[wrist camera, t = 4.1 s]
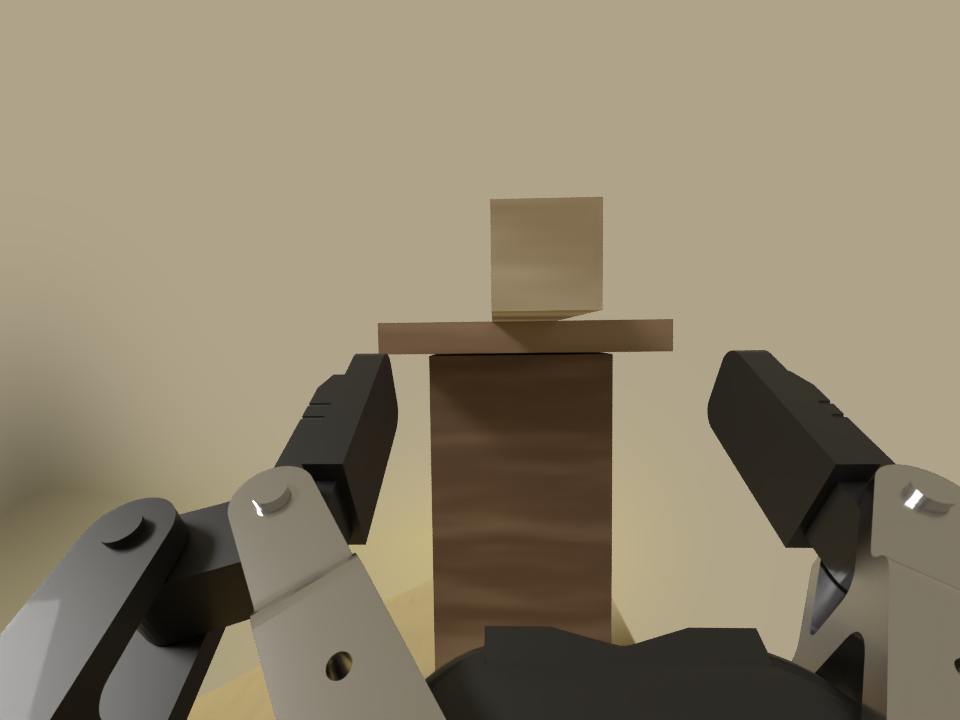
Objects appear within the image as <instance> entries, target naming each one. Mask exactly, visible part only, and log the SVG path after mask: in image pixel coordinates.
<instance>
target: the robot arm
mask: <svg viewBox="0 0 960 720" xmlns="http://www.w3.org/2000/svg"><path fill="white" fill-rule="evenodd" d="M309 404H310V406H308V407H307V409H306V411H305V412H304V414H303V416H302V417H303V418H302V419H301V420H300V421H299V423H298V425H297V427H296V429H295V430H294V432H293V434H292V436H291V438H290V439H289V442H288V443H287V445H286V447H285V449H284V450H283V452H282V454H281V456H280V458H279V460H278V461H277V463H276V465H275V467H274V468H272V469H269V470H266V471H263V472H261V473H259V474H257V475H255V476H254V477H252V478H250V479H249V480H248V481H246V482H245V483H244V484H243V485H242V486H241V487H240V488H239V489H238V490H237V491H236V492H235V494H234V495H233V497H232V499H231V500H230V501H229V502H226V503H223V504H219V505H215V506H212V507H207V508H203V509H200V510H195V511H192V512H188V513H184V514H180V515H179V514H178V512H177V511H176V509H175V507H174V506H173V505H172V503H170V502H169V501H167V500H165V499H162V498H144V499H139V500H135V501H132V502H129V503H126V504H124V505H122V506H120V507H118V508H116V509H114V510H112V511H110V512H109V513H107V514H105V515H104V516H102V517H101V518H100V519H98V520H97V521H96V522H94V523H93V524H92V525H91V526H90V527H89V528H88V529H87V530H86V531H85V532H84V533H83V534H82V535H81V537H80V538H79V539H78V540H77V541H76V543H75V544H74V545H73V546H72V548H71V549H70V550H69V551H68V552H67V554H66V555H65V556H64V557H63V559H62V560H61V561H60V562H59V563H58V565H57V566H56V567H55V568H54V569H53V571H52V572H51V573H50V574H49V576H48V577H47V578H46V579H45V581H44V582H43V583H42V584H41V585H40V587H39V588H38V589H37V590H36V591H35V593H34V594H33V595H32V596H31V598H30V599H29V600H28V601H27V602H26V604H25V605H24V606H23V607H22V609H21V610H20V611H19V612H18V614H17V615H16V616H15V617H14V618H13V620H12V621H11V622H10V623H9V625H8V626H7V627H6V628H5V629H4V631H3V632H2V633H1V634H0V720H187V718H188V715H189V713H190V711H191V708H192V706H193V703H194V701H195V699H196V696H197V694H198V692H199V689H200V687H201V684H202V682H203V679H204V677H205V675H206V673H207V670H208V668H209V665H210V663H211V660H212V658H213V656H214V654H215V651H216V649H217V646H218V644H219V642H220V639H221V637H222V635H223V632H224V630H225V627H226V626H229V625H232V624H235V623H239V622H242V621H245V620H248V619H250V621H251V627H252V632H253V635H254V640H255V643H256V647H257V651H258V654H259V658H260V662H261V666H262V669H263V673H264V677H265V681H266V684H267V688H268V692H269V696H270V699H271V703H272V707H273V711H274V714H275V718H276V720H960V487H959V486H958V485H956V484H954V483H953V482H951V481H949V480H947V479H946V478H944V477H941V476H939V475H937V474H935V473H932V472H929V471H927V470H923V469H920V468H917V467H913V466H908V465H897V464H895V463H894V462H893V461H892V460H891V459H890V458H889V457H888V456H886V454H885V453H884V452H883V451H882V450H881V449H880V448H879V447H877V446H876V445H875V444H874V443H873V442H872V441H871V440H870V439H869V438H868V437H867V436H866V435H865V434H864V433H863V432H862V431H861V430H860V429H859V428H858V427H857V426H856V425H855V424H854V423H853V422H852V421H851V420H850V419H849V418H847V417H844V416H843V413H842V412H841V411H840V410H839V409H838V408H837V407H836V406H835V405H834V404H830V400H829V399H828V398H827V397H826V396H825V395H824V394H823V393H822V392H821V391H820V390H819V389H817V388H816V387H815V386H814V385H813V384H811V383H810V382H808V381H806V380H804V379H803V378H801V377H799V376H798V375H795V374H794V373H792V372H791V371H788V370H786V368H785V367H784V366H783V365H782V364H781V363H780V362H779V361H777V359H776V358H775V357H773V355H772V354H771V353H769V352H768V351H765V350H749V351H748V350H746V351H729V352H728V353H727V354H726V355H725V356H724V358H723V361H722V364H721V367H720V370H719V373H718V375H717V378H716V382H715V384H714V387H713V390H712V393H711V396H710V399H709V402H708V420H709V423H710V426H711V428H712V430H713V431H714V433H715V435H716V436H717V438H718V439H719V441H720V443H721V444H722V446H723V448H724V449H725V451H726V452H727V454H728V456H729V457H730V459H731V460H732V462H733V464H734V465H735V467H736V468H737V470H738V472H739V473H740V475H741V477H742V478H743V480H744V481H745V483H746V485H747V486H748V488H749V489H750V491H751V493H752V494H753V496H754V497H755V499H756V501H757V502H758V504H759V506H760V507H761V509H762V510H763V512H764V514H765V515H766V517H767V518H768V520H769V522H770V523H771V525H772V526H773V528H774V530H775V531H776V533H777V534H778V536H779V538H780V539H781V541H782V543H783V544H784V546H785V547H786V548H813V549H814V550H815V551H816V553H817V554H818V557H817V559H816V560H815V562H814V563H813V565H812V568H811V574H810V580H809V586H808V592H807V597H806V603H805V609H804V615H803V621H802V627H801V633H800V639H799V643H798V647H797V650H796V653H795V655H794V658H793V660H792V662H791V661H789V660H786V659H784V658H781V657H779V656H776V655H773V654H770V653H767V650H766V648H765V646H764V644H763V642H762V640H761V638H760V636H759V633H758V631H757V630H756V628H686V629H683V630H679V631H676V632H673V633H670V634H666V635H663V636H660V637H657V638H653V639H650V640H646V641H643V642H640V643H636V644H633V645H629V646H618V645H614V644H610V643H607V642H603V641H600V640H596V639H593V638H589V637H585V636H582V635H578V634H575V633H571V632H568V631H564V630H561V629H557V628H554V627H549V626H485V639H484V646H482V647H479V648H476V649H472V650H470V651H468V652H465V653H463V654H461V655H459V656H457V657H455V658H453V659H452V660H450V661H448V662H447V663H445V664H444V665H442V666H441V667H439V668H438V669H437V670H436V671H435V672H433V673H432V674H431V675H430V676H429V677H427V678H426V679H424V677H423V675H422V674H421V672H420V670H419V668H418V666H417V664H416V662H415V660H414V659H413V657H412V655H411V653H410V651H409V649H408V647H407V646H406V644H405V642H404V640H403V638H402V636H401V634H400V632H399V631H398V629H397V627H396V625H395V623H394V621H393V619H392V618H391V616H390V614H389V612H388V610H387V608H386V606H385V604H384V603H383V601H382V599H381V597H380V595H379V593H378V591H377V590H376V588H375V586H374V584H373V582H372V580H371V578H370V576H369V575H368V573H367V571H366V569H365V567H364V565H363V564H362V562H361V560H360V559H359V557H358V556H357V554H356V553H354V554H352V552H351V550H350V549H349V547H348V545H349V544H350V545H352V544H353V545H354V544H357V545H361V544H362V545H363V544H364V545H365V544H366V541H367V537H368V534H369V530H370V526H371V523H372V519H373V515H374V511H375V508H376V504H377V500H378V496H379V492H380V489H381V485H382V481H383V477H384V474H385V470H386V466H387V462H388V459H389V455H390V451H391V447H392V444H393V440H394V436H395V432H396V428H397V422H398V406H397V399H396V393H395V387H394V382H393V375H392V369H391V363H390V359H389V356H388V354H356V355H354V357H353V359H352V361H351V363H350V366H349V367H348V369H347V371H346V373H345V375H333V376H331V377H330V378H329V379H328V380H327V381H326V382H324V383H323V384H322V385H321V386H320V387H318V389H317V390H316V392H315V394H314V396H313V398H312V400H311V401H310V403H309Z"/></svg>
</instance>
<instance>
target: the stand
mask: <svg viewBox="0 0 960 720" xmlns="http://www.w3.org/2000/svg"><path fill="white" fill-rule="evenodd" d="M378 341H379V342H378V343H379V354H435V355H432V356H429V367H430V418H431V471H432V472H431V474H432V525H433V579H434V632H435V671H436V670H437V669H438V668H439V667H441V666H442V665H444V664H445V663H447V662H448V661H450V660H452V659H453V658H455V657H457V656H459V655H461V654H463V653H465V652H468V651H470V650H472V649H476V648H479V647H482V646H484V639H485V626H549V627H554V628H557V629H561V630H564V631H568V632H571V633H575V634H578V635H582V636H585V637H589V638H593V639H596V640H600V641H603V642H607V643H610V644H611V576H612V575H611V572H612V565H611V564H612V563H611V562H612V559H611V558H612V557H611V556H612V361H613V360H612V358H613V355H612V354H608V353H602V352H638V351H639V352H641V351H673V319H663V320H662V319H658V320H591V321H590V320H584V321H510V322H443V323H442V322H438V323H436V322H435V323H378Z"/></svg>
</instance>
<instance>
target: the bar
mask: <svg viewBox="0 0 960 720" xmlns="http://www.w3.org/2000/svg"><path fill="white" fill-rule="evenodd" d="M490 207H491V208H490V210H491V296H492V297H491V302H492V322H510V321H557V320H561V319H566V318H570V317H574V316H578V315H583V314H587V313H591V312H595V311H599V310H602V280H603V279H602V276H603V265H602V264H603V250H602V249H603V197H576V198H531V199H491V200H490Z"/></svg>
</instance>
